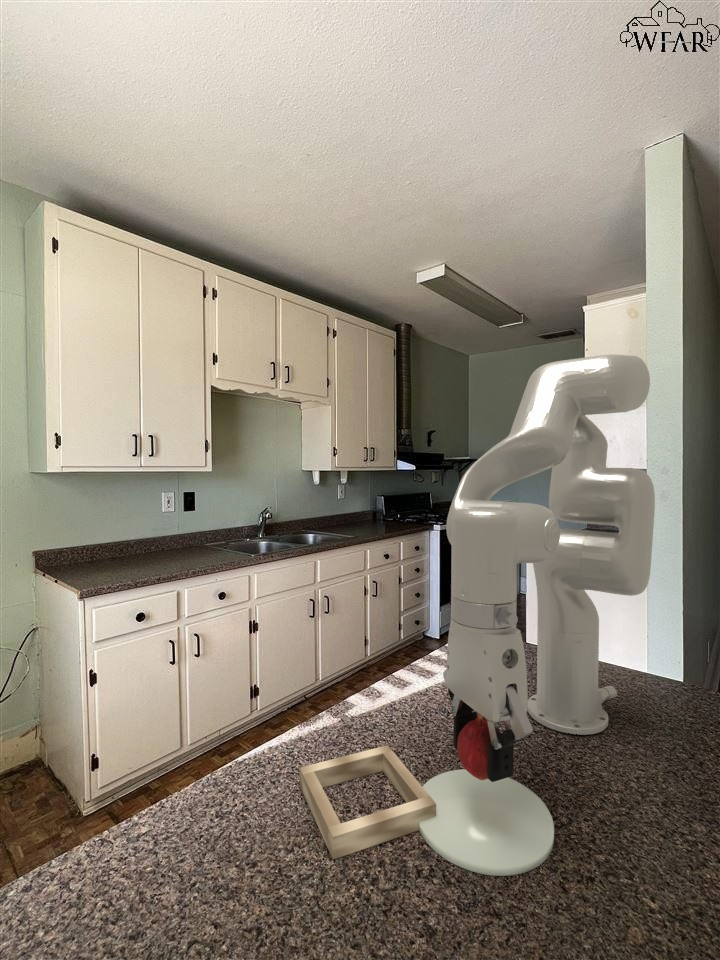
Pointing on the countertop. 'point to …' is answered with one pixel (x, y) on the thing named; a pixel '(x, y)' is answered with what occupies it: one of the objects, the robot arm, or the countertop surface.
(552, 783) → the countertop surface
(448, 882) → the countertop surface
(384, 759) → the frame
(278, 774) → the countertop surface
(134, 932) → the countertop surface
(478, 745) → the onion
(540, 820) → the plate
